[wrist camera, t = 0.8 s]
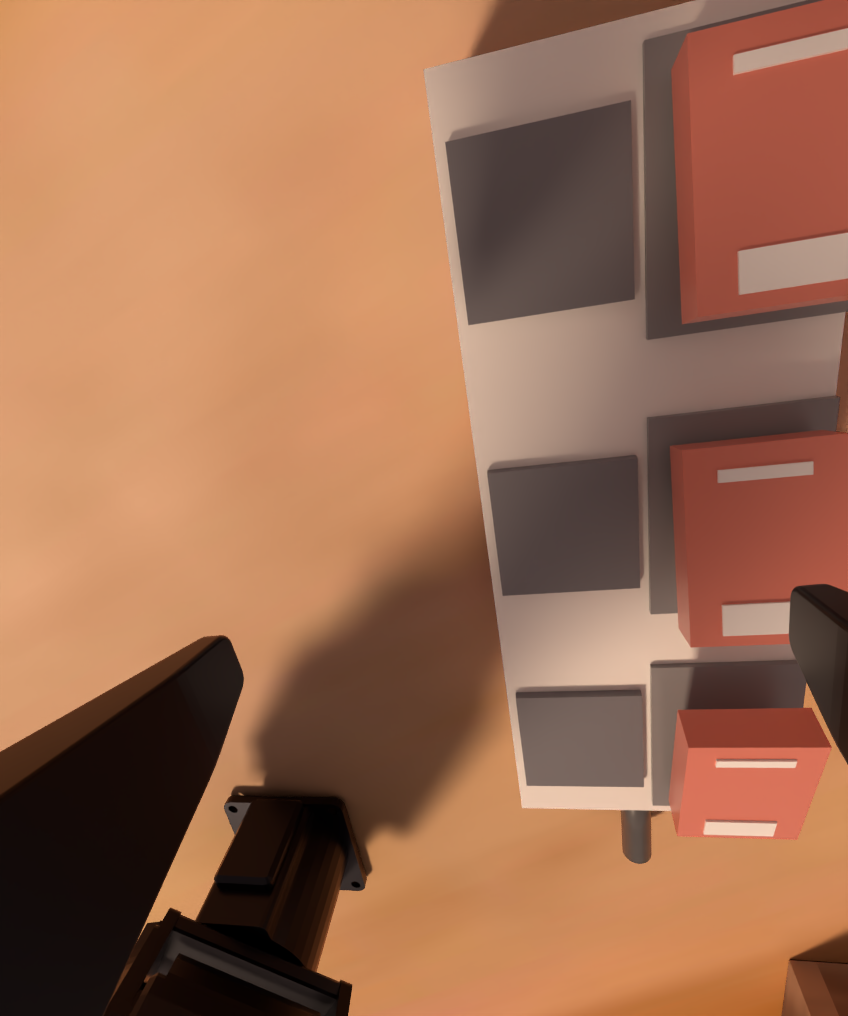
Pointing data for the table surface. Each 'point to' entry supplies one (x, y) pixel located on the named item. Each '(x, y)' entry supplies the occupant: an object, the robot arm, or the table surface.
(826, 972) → the wooden tray
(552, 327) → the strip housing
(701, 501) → the rocker
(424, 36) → the table surface
